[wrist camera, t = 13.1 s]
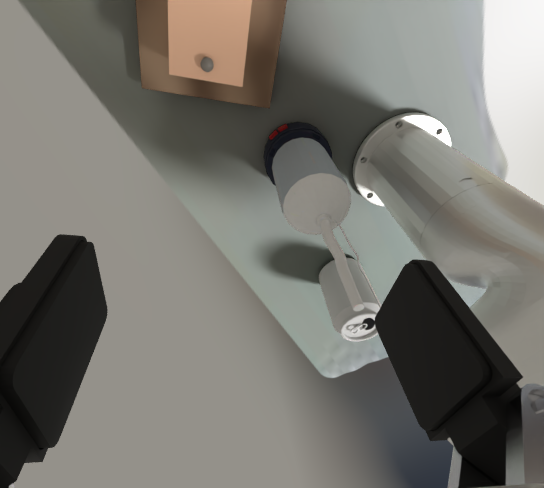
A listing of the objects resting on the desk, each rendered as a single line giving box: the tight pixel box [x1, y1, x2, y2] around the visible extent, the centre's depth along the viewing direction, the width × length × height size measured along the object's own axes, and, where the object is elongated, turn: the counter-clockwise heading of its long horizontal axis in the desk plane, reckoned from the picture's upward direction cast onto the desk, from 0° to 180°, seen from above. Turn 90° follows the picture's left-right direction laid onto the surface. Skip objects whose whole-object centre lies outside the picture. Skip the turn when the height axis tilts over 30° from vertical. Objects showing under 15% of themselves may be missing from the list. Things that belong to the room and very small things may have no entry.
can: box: [319, 258, 381, 341], centre depth 48 cm, size 8×8×12 cm
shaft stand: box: [136, 0, 287, 108], centre depth 27 cm, size 13×13×7 cm
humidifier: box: [264, 122, 381, 311], centre depth 29 cm, size 8×8×25 cm
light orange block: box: [168, 0, 252, 87], centre depth 26 cm, size 6×8×7 cm
